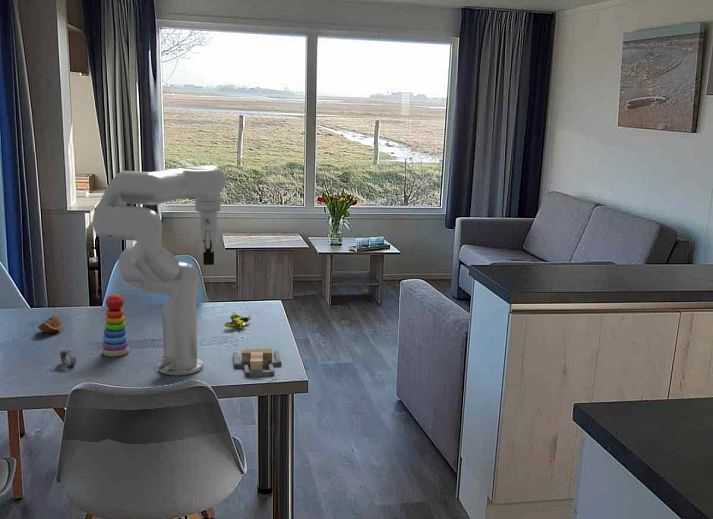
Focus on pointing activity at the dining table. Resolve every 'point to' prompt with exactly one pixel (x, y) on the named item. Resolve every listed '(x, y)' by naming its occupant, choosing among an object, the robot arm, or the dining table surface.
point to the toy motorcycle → (237, 321)
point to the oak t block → (257, 358)
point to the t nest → (258, 373)
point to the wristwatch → (70, 354)
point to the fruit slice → (51, 325)
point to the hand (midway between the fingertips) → (208, 264)
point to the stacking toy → (115, 328)
